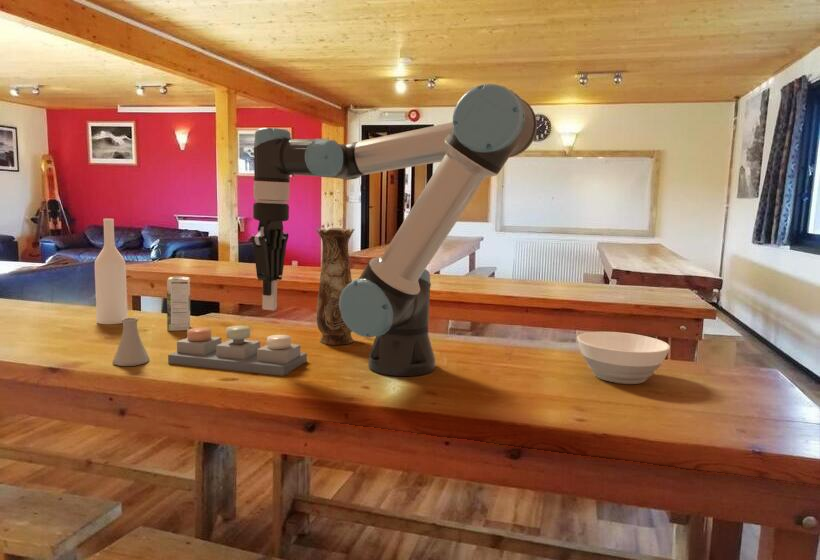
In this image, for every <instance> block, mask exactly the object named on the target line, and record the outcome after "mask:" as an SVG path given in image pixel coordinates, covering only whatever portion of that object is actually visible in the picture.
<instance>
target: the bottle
mask: <svg viewBox="0 0 820 560" xmlns="http://www.w3.org/2000/svg"><path fill="white" fill-rule="evenodd" d="M103 239H104V240H103V248H102V249H101V250H100V252H99V254H98V255H97V257H96V259H95V260H94V287H95V288H94V289H95V307H96V308H95V313H96V323H97V324H98V325H119V324H123V322H122V321H121V320H122V319H124V318H129V317H128V316H129V315H128V293H127V292H128V291H127V288H128V287H127V286H128V285H127V265H126V261H125V258H124V257H123V255H122V254H121V253H120V251H119V250H118V248H117V247H116V243H115V242H116V241H115V220H114V218H103Z"/></svg>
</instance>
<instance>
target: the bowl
mask: <svg viewBox="0 0 820 560" xmlns="http://www.w3.org/2000/svg"><path fill="white" fill-rule="evenodd" d="M576 339H577V343H578V347H579V351H580V353H581V355H582V357H583V359H584V361H585V362H586V363H587V366H588V368H589V369H590V370H591V371H592V373H593V375H594V376H595V377H596V378H598V379H600V380H602V381H605V382H610V383H613V382H614V384H620V385H622V384H623V385H638V384H643V383H645V382H646V381H647V380H648V378H650V377H651V376H653V375H654V372H655V371H656V370H658V369H659V368H660V366H661V365H662V363H664V361H665V359H666V358H667V355H668V353H669V351H670V349H671V346H670V345H669V343H667V342H665V341H664V340H661V339H658V338H654V337H651V336H647V335H642V334H635V333H630V332H619V331H588V332H584V333H580V334H578V335H577V336H576Z"/></svg>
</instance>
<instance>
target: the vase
mask: <svg viewBox="0 0 820 560" xmlns="http://www.w3.org/2000/svg"><path fill="white" fill-rule="evenodd" d="M315 230H316V231H317V233H318V235H319V237H320V239H321V241H322V245H321V246H322V250H321V251H322V252H321V253H322V254H321V255H322V256H321V267H320V278H319V284H318V295H317V304H316V324H317V329H318V331H319V332H320V333H321V337H320V341H319V342H320V343H322V344H324V345H329V346H330V345H332V346H333V345H334V346H337V345H339V346H340V345H347V344H352V343H353V342H354V339H353V337H352V333H353V331H351V330H350V329H349V328H348V327H347V325H346V324H345V323H344V321H343V319H342V317H341V311H340V309H339V300H340V295H341V293H342V291H343V289H344V288H345V287H346V286H347V285H348V284H349V283H351V282H352V281H353V279H352V272H351V264H350V255H349V240H350V239H351V236H352V235H353V233H354V231H355V228H346V229H344V228H342V227H330V228H328V229H325V228H321V229H320V228H318V227H317V228H316V229H315Z"/></svg>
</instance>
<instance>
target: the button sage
mask: <svg viewBox="0 0 820 560" xmlns="http://www.w3.org/2000/svg"><path fill="white" fill-rule="evenodd" d="M225 329H226V337H225V338H226V339H228V340H231V339H233V345H241V346H242V345H244V340H247V339H250V338H251V327H250V326H248V325H230V326H228V327H226V328H225Z"/></svg>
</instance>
